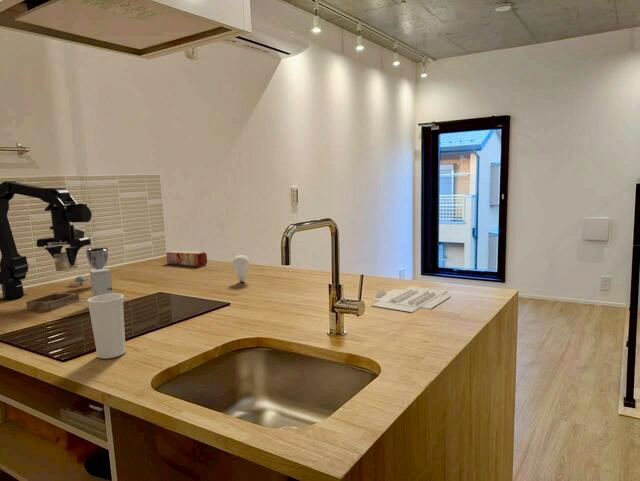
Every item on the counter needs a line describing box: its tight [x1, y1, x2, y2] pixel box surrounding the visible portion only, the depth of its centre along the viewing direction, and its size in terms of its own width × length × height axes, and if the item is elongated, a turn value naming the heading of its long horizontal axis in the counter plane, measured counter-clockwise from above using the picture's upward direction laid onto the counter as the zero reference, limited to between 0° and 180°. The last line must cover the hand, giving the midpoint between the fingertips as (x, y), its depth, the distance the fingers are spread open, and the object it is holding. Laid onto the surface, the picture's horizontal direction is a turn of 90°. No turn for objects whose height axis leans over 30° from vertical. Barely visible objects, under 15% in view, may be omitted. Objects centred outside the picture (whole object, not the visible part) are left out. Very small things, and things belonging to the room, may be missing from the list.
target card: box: [77, 296, 92, 302], centre depth 165 cm, size 6×9×1 cm, turn 165°
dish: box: [68, 278, 91, 288], centre depth 184 cm, size 7×7×2 cm
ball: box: [74, 275, 86, 285], centre depth 184 cm, size 4×4×4 cm
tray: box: [371, 285, 451, 314], centre depth 147 cm, size 20×28×4 cm
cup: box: [86, 292, 126, 359], centre depth 108 cm, size 8×8×14 cm
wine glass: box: [85, 247, 109, 270], centre depth 182 cm, size 8×8×15 cm
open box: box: [26, 292, 80, 312], centre depth 156 cm, size 10×12×3 cm
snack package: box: [165, 250, 208, 268], centre depth 221 cm, size 23×7×7 cm, turn 60°
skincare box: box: [89, 268, 114, 297], centre depth 153 cm, size 6×4×12 cm
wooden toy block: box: [53, 251, 79, 272], centre depth 164 cm, size 5×5×6 cm
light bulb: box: [232, 254, 250, 283], centre depth 179 cm, size 7×7×11 cm
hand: (66, 265), depth 164 cm, fingers closed on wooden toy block, 5 cm apart
